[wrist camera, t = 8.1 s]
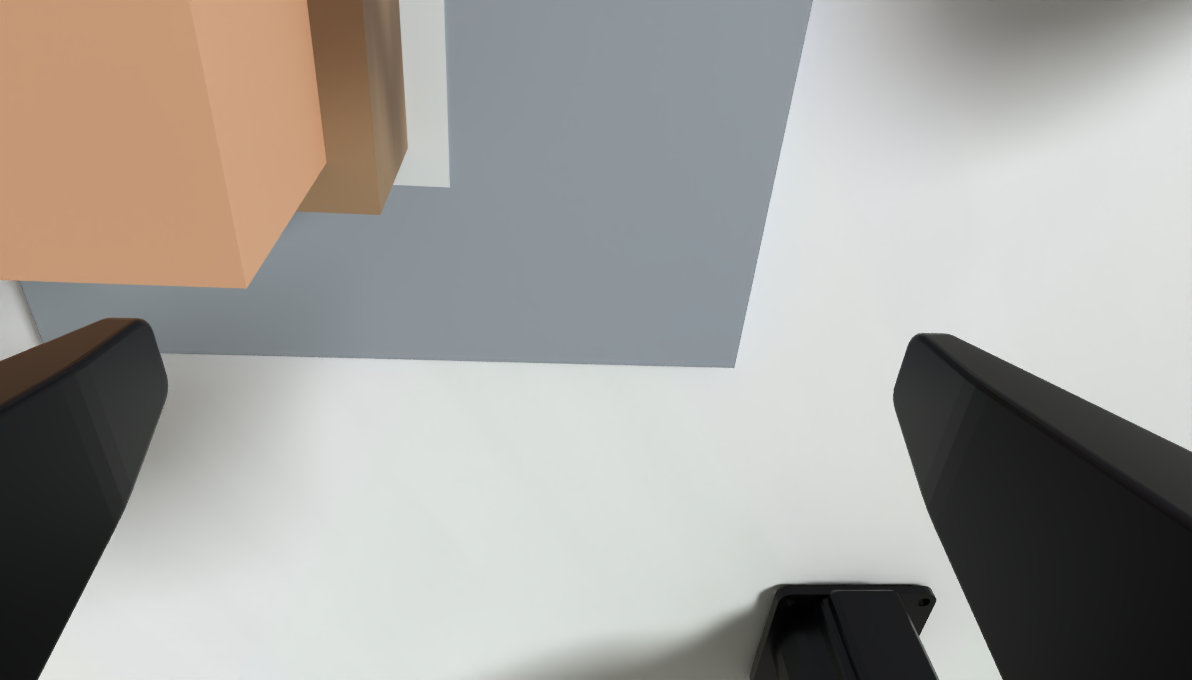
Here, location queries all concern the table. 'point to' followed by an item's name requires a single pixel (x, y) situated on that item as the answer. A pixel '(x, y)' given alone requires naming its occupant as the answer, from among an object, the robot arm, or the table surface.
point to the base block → (358, 104)
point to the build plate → (526, 198)
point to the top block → (153, 138)
